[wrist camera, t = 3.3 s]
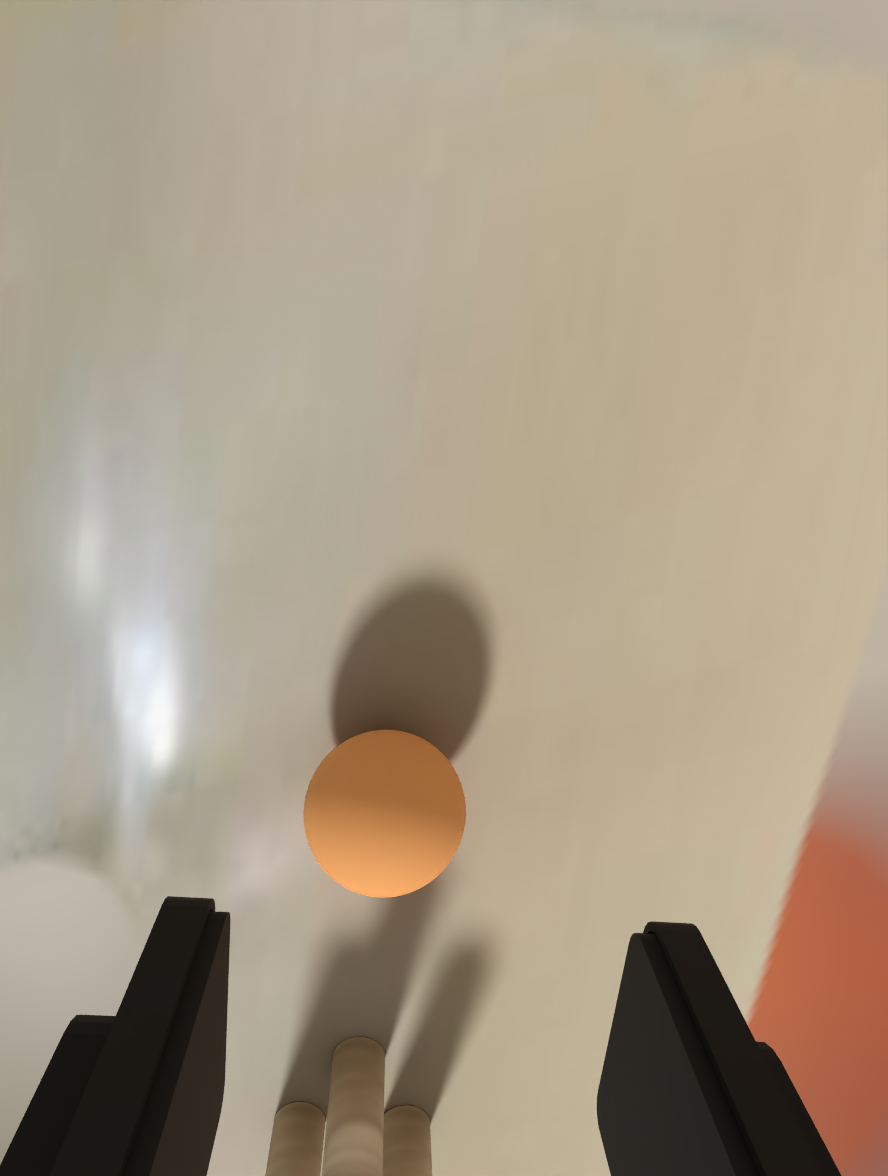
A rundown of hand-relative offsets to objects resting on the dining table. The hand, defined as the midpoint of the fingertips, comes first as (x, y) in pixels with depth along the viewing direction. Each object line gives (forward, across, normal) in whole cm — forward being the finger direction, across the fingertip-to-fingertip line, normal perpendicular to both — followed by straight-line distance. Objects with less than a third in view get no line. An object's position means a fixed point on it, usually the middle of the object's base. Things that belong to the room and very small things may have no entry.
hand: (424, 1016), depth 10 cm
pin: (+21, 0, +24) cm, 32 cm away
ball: (+18, 0, +9) cm, 20 cm away
